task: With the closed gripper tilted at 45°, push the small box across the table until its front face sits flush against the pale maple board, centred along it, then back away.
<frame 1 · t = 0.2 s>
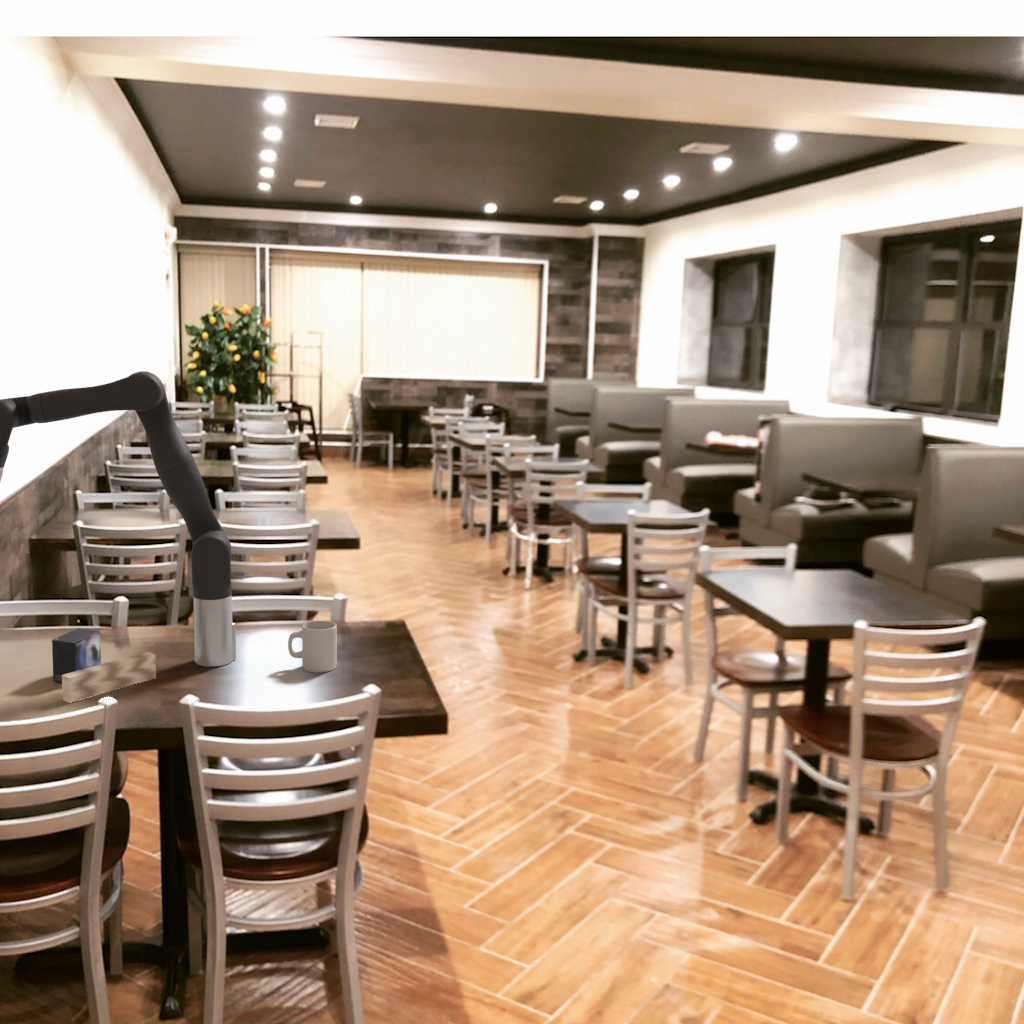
mug: (312, 668, 253), on the table
small box: (78, 677, 242), on the table
maple board: (111, 689, 234), on the table
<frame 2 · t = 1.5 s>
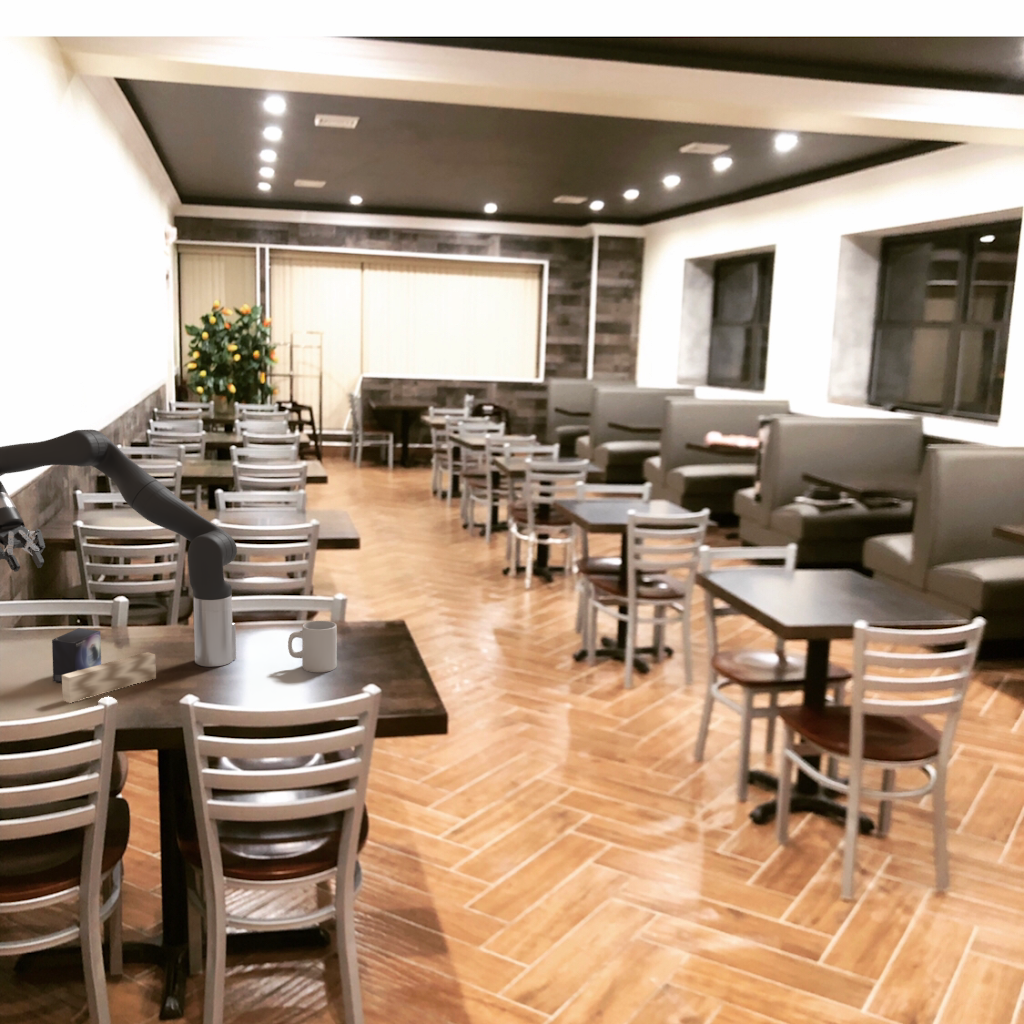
hand: (29, 567, 250), 23 cm above the table, tool tilted 45°, fingers open, 5 cm apart
nothing on the table moved.
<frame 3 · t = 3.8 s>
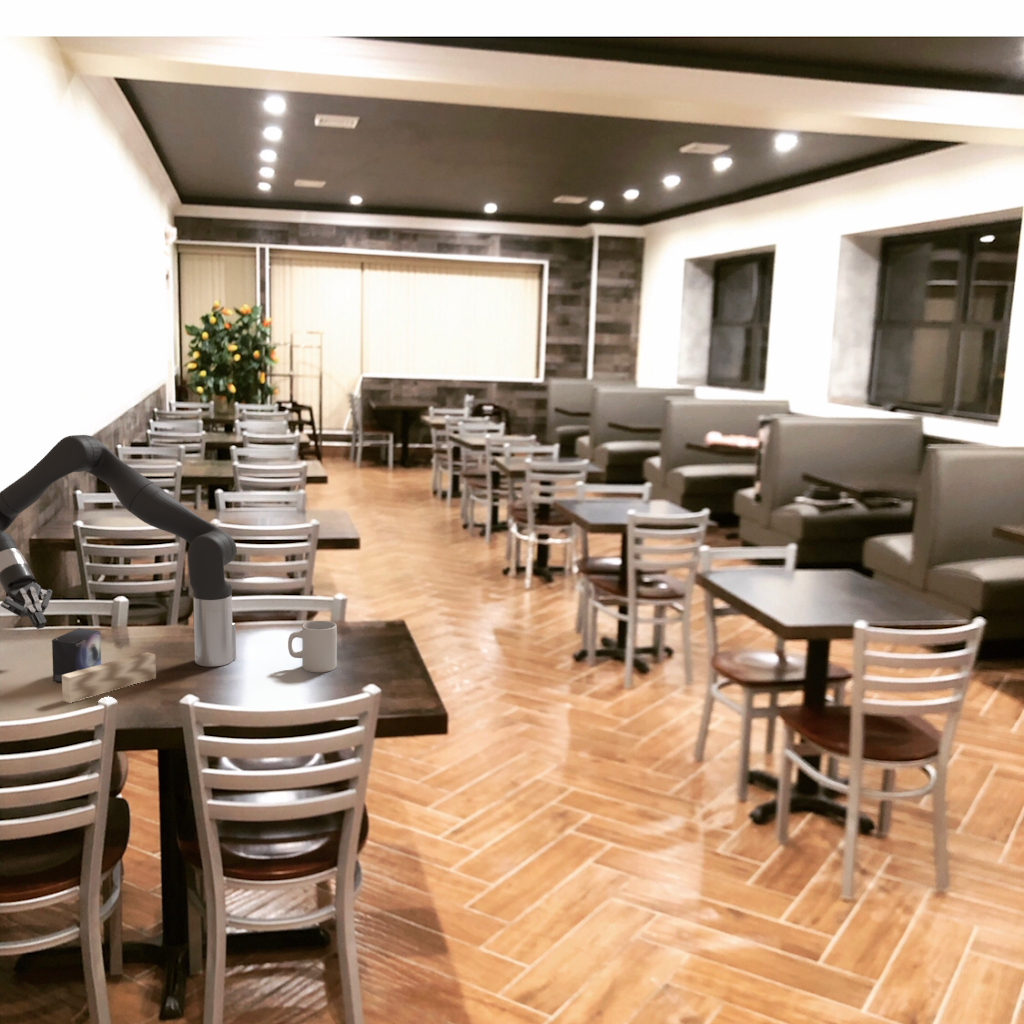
hand: (41, 626, 249), 9 cm above the table, tool tilted 45°, fingers closed
nothing on the table moved.
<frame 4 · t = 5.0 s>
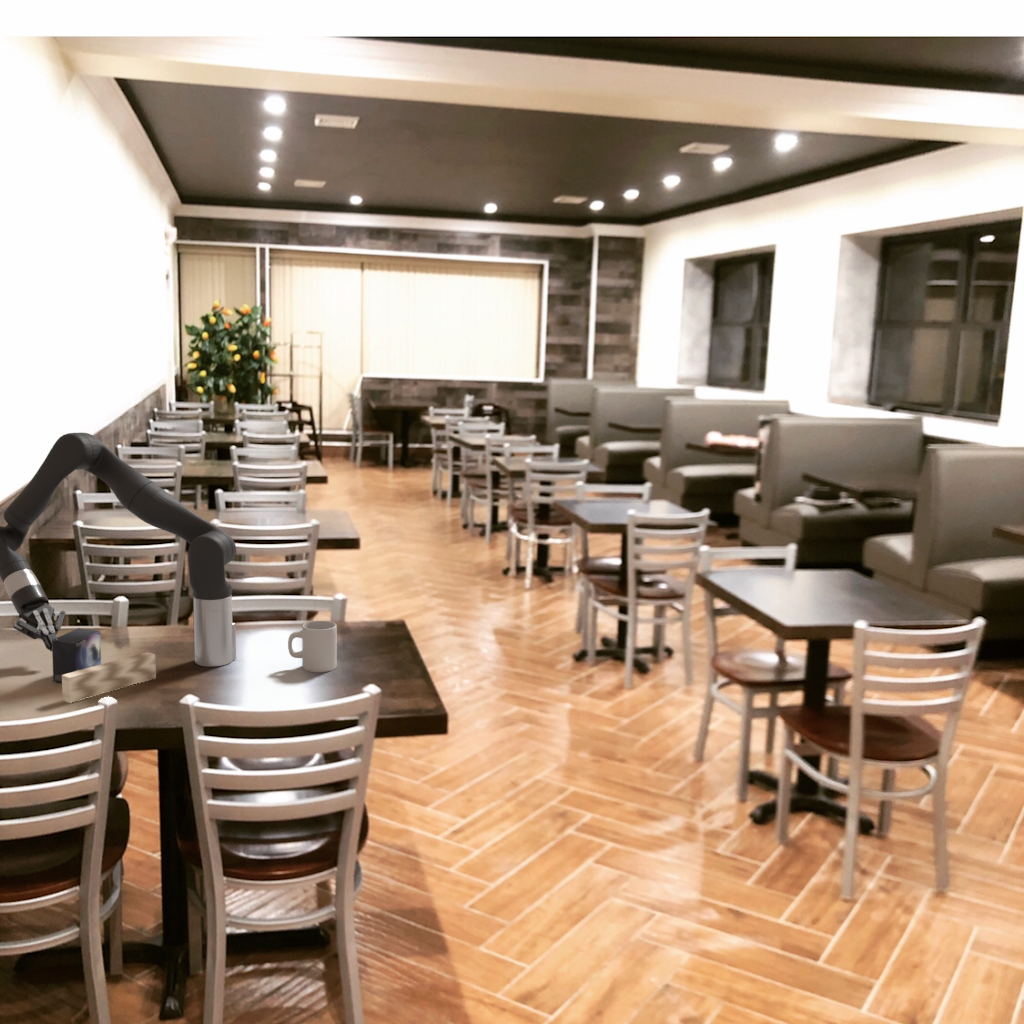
hand: (55, 648, 246), 5 cm above the table, tool tilted 45°, fingers closed
nothing on the table moved.
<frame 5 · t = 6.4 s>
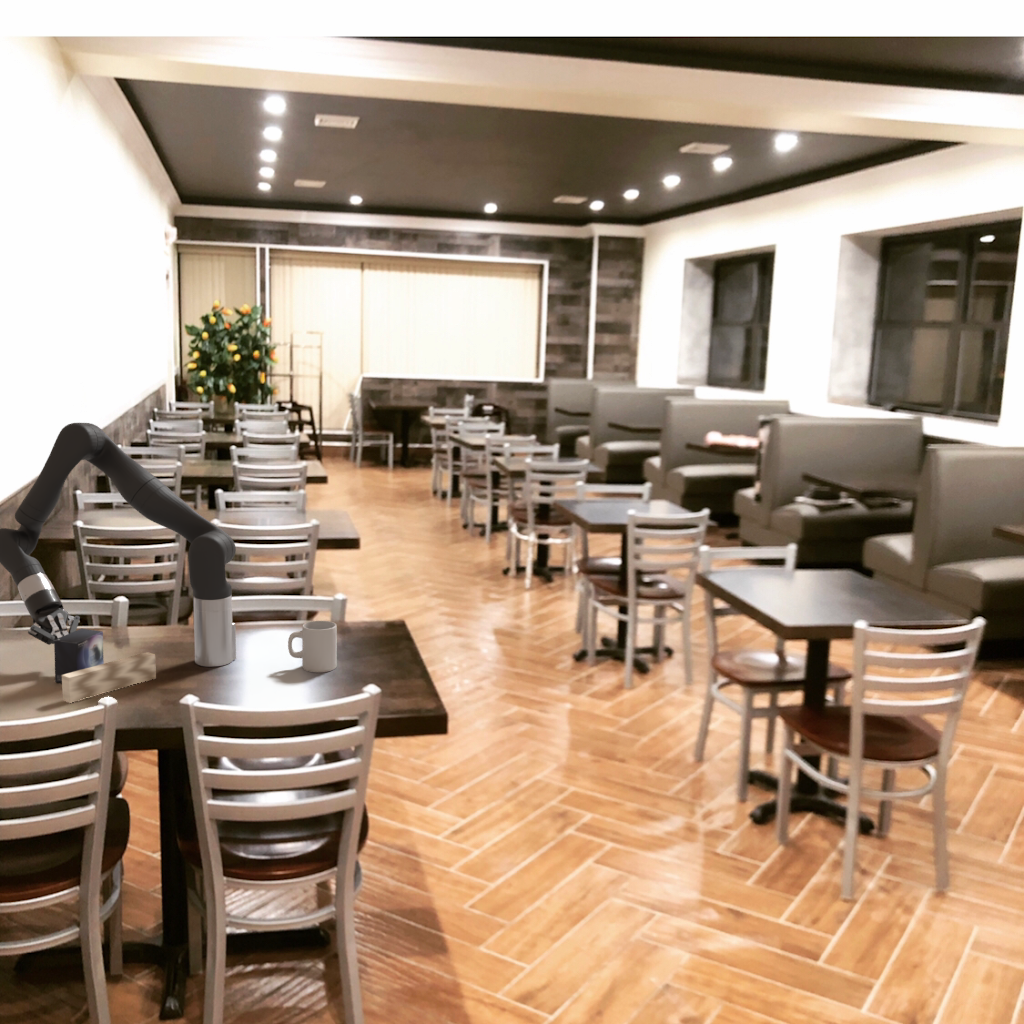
hand: (69, 654, 243), 5 cm above the table, tool tilted 45°, fingers closed
small box: (80, 678, 241), on the table, touching gripper
everything else where it was.
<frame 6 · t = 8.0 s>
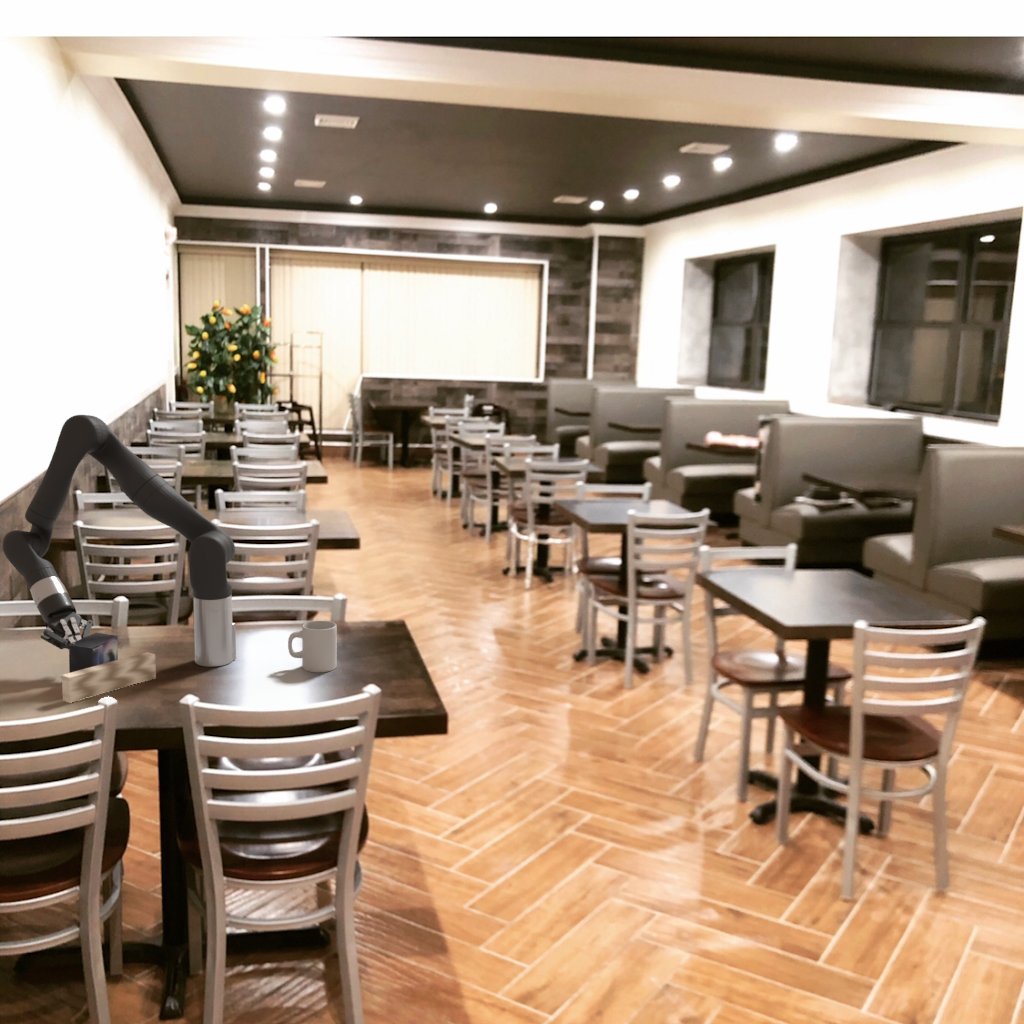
hand: (82, 659, 239), 5 cm above the table, tool tilted 45°, fingers closed
small box: (94, 682, 238), on the table, touching gripper
everything else where it was.
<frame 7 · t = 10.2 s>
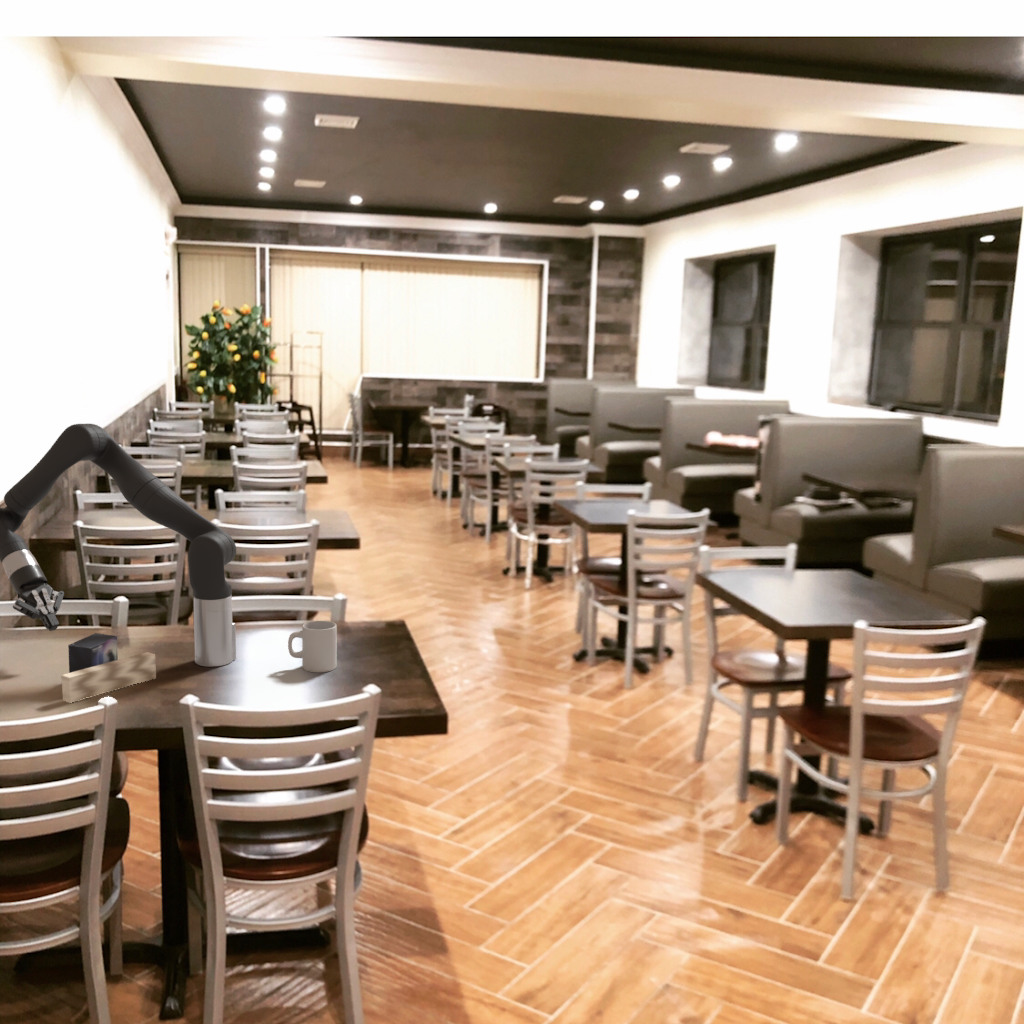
hand: (54, 628, 246), 10 cm above the table, tool tilted 45°, fingers closed
small box: (94, 683, 238), on the table
everything else where it was.
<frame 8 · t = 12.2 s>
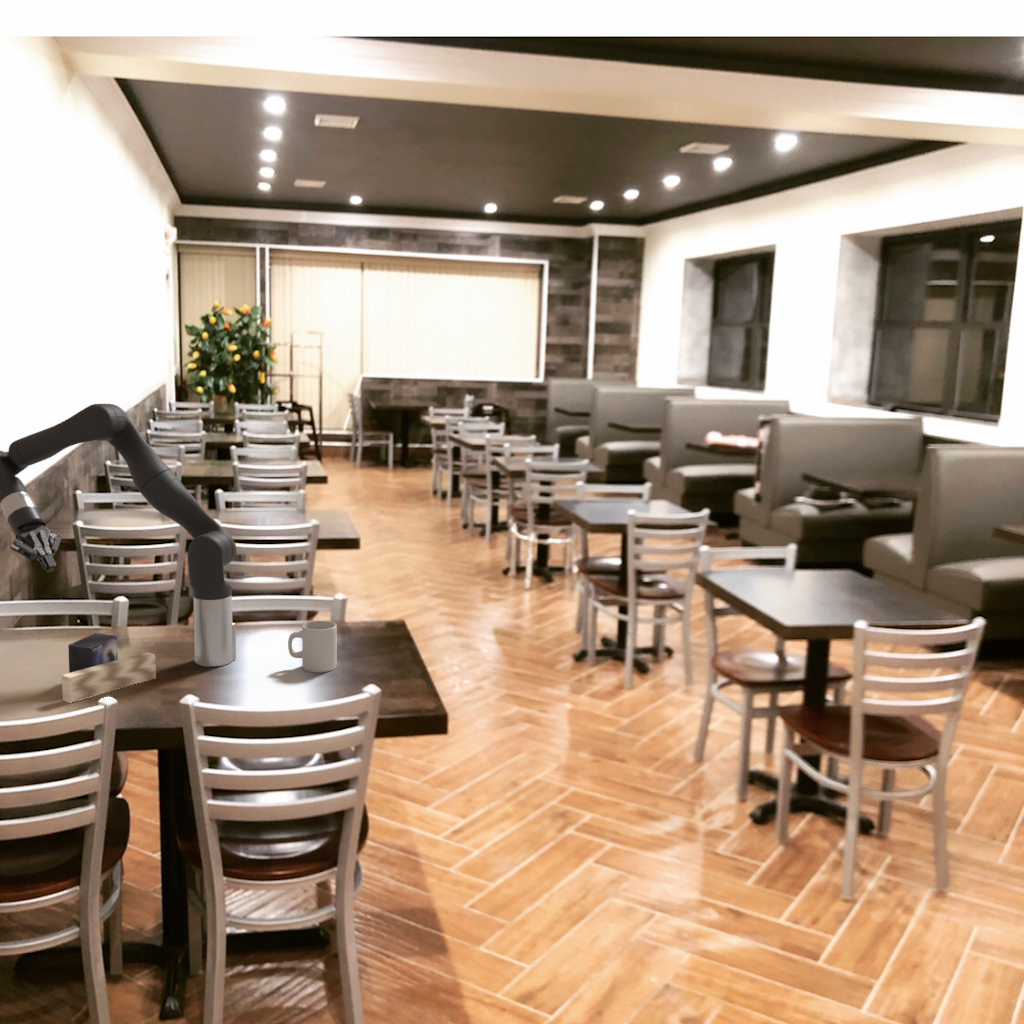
hand: (51, 569, 246), 24 cm above the table, tool tilted 45°, fingers closed
nothing on the table moved.
at the end: small box 0.2 cm from the target spot on the table beside the maple board, on the table; small box tilted 0° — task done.
